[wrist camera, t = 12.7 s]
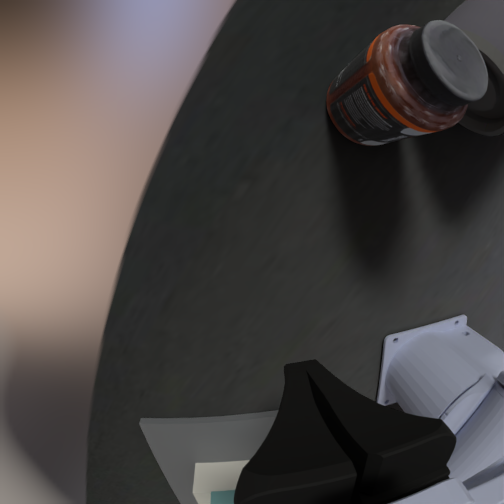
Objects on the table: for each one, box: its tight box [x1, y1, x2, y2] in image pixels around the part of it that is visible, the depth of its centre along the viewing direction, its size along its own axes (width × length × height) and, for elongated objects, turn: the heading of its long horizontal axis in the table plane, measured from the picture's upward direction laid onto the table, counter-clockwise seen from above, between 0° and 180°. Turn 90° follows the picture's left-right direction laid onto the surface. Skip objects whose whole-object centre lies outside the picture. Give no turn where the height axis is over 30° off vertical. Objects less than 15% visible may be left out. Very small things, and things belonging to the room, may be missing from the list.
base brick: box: [193, 460, 249, 504], centre depth 24 cm, size 8×8×4 cm
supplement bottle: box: [326, 20, 488, 146], centre depth 14 cm, size 6×6×11 cm
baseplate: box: [139, 410, 278, 504], centre depth 26 cm, size 20×16×1 cm
